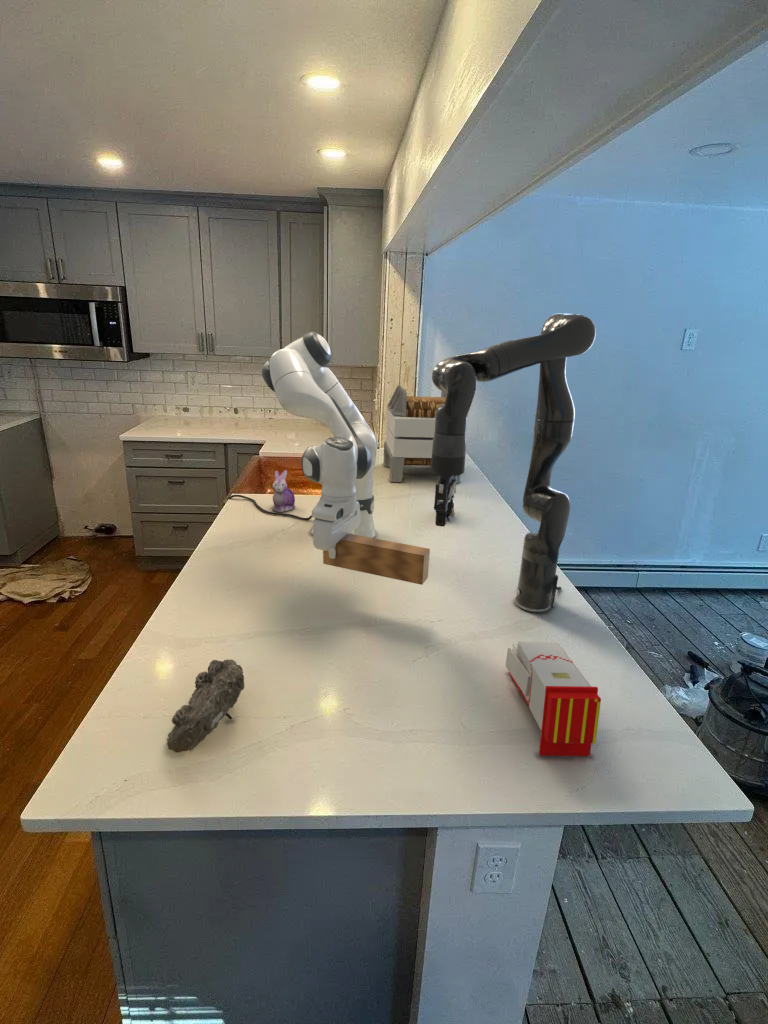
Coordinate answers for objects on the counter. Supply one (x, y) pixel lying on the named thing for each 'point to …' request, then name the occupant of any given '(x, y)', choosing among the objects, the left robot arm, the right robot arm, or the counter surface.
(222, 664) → the fossil
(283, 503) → the figurine
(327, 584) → the counter surface
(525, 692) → the toy
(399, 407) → the legged crate with fins
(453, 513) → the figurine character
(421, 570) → the bar
